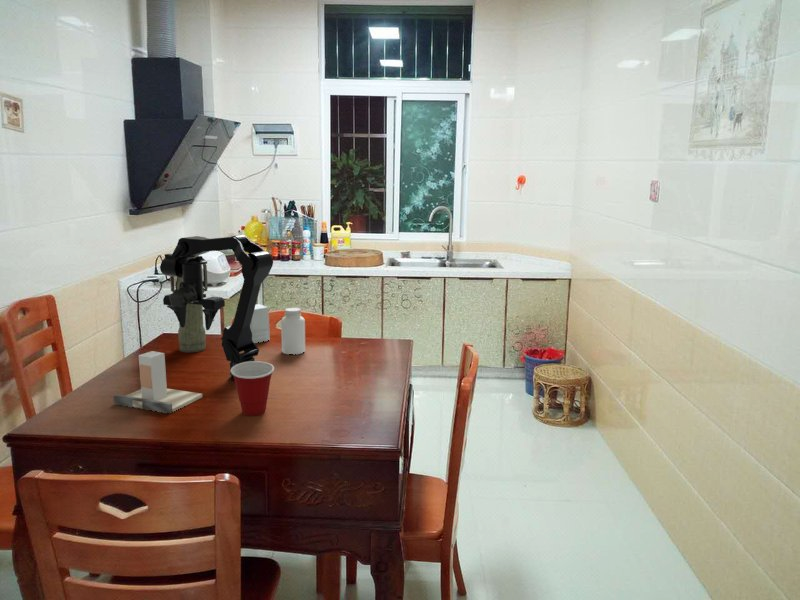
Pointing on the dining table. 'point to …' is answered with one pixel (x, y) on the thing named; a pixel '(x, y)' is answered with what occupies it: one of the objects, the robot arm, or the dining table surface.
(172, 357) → the dining table surface
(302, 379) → the dining table surface
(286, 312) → the pill bottle
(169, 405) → the shelf board
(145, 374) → the grey carton
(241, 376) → the plastic cup
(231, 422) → the dining table surface
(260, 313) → the supplement box
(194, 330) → the thermos
